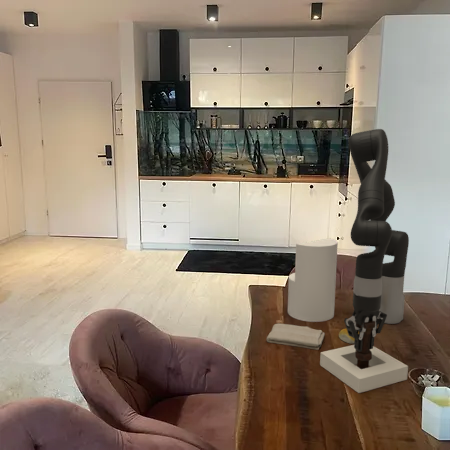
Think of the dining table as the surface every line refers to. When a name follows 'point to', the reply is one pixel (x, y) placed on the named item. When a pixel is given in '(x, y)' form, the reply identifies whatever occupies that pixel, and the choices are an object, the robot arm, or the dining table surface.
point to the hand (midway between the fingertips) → (363, 349)
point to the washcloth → (296, 336)
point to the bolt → (365, 346)
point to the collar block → (363, 378)
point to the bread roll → (346, 336)
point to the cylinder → (313, 281)
